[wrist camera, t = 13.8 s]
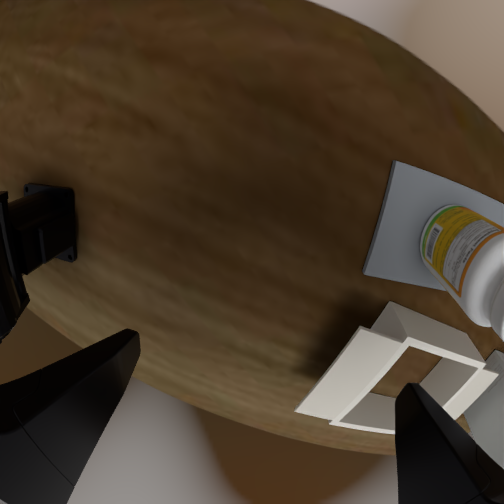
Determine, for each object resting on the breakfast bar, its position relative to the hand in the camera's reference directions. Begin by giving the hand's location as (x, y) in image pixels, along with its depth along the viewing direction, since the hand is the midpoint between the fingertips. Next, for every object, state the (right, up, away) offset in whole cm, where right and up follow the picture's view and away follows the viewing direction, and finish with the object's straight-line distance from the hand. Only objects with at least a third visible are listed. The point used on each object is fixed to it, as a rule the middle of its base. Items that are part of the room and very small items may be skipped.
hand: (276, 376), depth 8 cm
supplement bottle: (+13, +5, +9) cm, 17 cm away
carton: (+13, -6, +14) cm, 20 cm away
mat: (+14, +5, +9) cm, 17 cm away
